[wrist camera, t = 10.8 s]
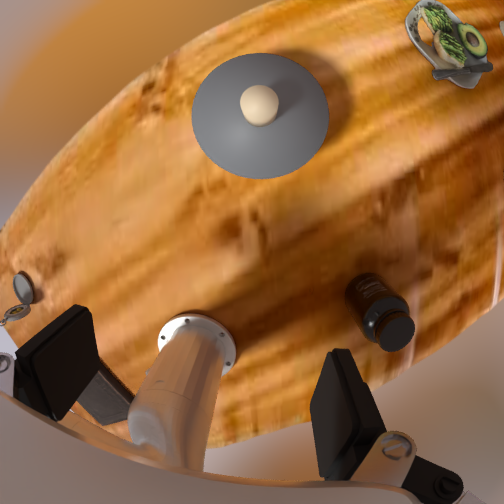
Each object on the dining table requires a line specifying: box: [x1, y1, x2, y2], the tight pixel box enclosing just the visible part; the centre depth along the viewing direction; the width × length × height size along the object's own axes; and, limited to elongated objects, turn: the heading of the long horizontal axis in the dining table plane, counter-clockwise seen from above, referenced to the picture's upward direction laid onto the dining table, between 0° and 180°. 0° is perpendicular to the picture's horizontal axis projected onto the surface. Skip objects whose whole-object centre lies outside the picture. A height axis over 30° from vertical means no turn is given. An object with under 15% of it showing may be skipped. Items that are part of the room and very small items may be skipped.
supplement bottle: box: [345, 273, 415, 352], centre depth 33 cm, size 7×7×12 cm
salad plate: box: [405, 0, 493, 89], centre depth 25 cm, size 19×18×5 cm
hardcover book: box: [77, 362, 134, 426], centre depth 46 cm, size 16×23×2 cm
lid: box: [192, 53, 329, 179], centre depth 26 cm, size 15×15×5 cm
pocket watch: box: [0, 274, 33, 326], centre depth 37 cm, size 8×8×10 cm
